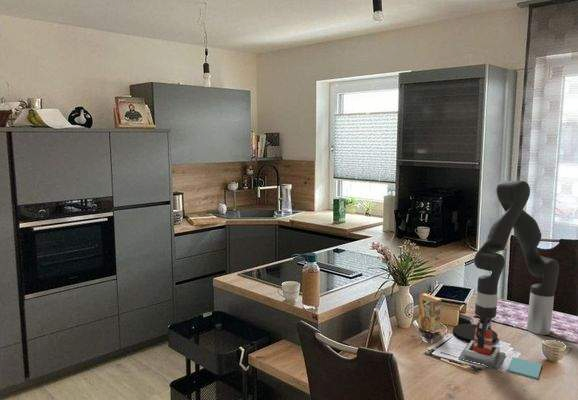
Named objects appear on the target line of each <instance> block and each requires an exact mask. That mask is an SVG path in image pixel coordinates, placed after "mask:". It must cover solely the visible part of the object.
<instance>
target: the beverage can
mask: <svg viewBox="0 0 578 400" xmlns="http://www.w3.org/2000/svg"><path fill="white" fill-rule="evenodd" d="M492 330H493V329H492V327H491V328H490V327H488V331H487V334H485V339H484V348H479V347H477V344H478V338H476V335H477V328H476V329H475V341H474V350H473V351H475V352H479V353H482V354H486V355H490V356H492V355H491V348H492V345H493V344H492V336H493V333H492ZM484 331H485V330H484ZM480 335H482V333H480Z"/></svg>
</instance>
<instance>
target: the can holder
mask: <svg viewBox="0 0 578 400" xmlns="http://www.w3.org/2000/svg"><path fill="white" fill-rule="evenodd" d="M500 350H501V347H500V346H496V345H494V344H492V348H491V354H493V355H491V356H490V355H486V354H482V353H479V352H475V351H474V341H472V340H471V342H470V343H467V344H466V346H465V347H464V349H463V350H462V352H461V353H460V354H459V356H458V359H459V358H461V359H464V360H468V361H472V362H476V363H480V364H484V365H486V366H488V367H487V368H489V369H494V370H497V371H498V370H499V368H500V366H501V364H502V362H503V360H504V358H505V355H506V353H505V352H501V351H500ZM503 357H504V358H503ZM502 359H503V360H502ZM501 361H502V362H501ZM486 366H485V367H486Z"/></svg>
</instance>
